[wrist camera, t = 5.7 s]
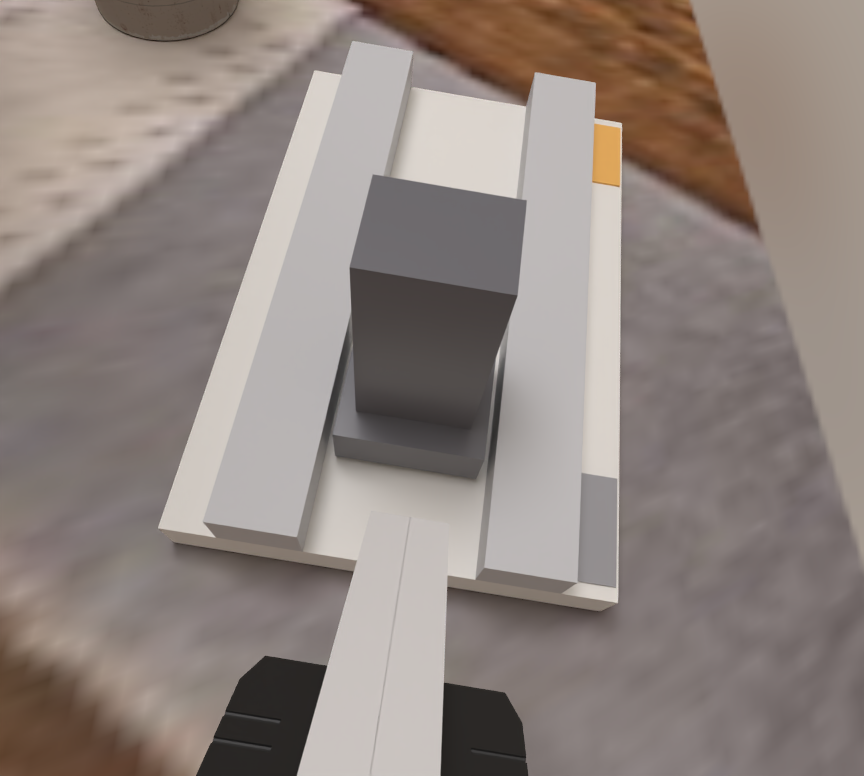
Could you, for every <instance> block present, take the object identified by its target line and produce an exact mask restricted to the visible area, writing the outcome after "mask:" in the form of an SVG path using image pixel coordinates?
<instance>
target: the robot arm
mask: <svg viewBox="0 0 864 776" xmlns="http://www.w3.org/2000/svg"><path fill="white" fill-rule="evenodd" d="M448 548H449V523H443V522H437V521H431V520H425V519H419V518H413V517H407V516H401V515H395V514H389V513H383V512H377V511H371V513H370V516H369V520H368V523H367V527H366V530H365V534H364V538H363V541H362V545H361V548H360V552H359V555H358V559H357V563H356V566H355V570H354V573H353V577H352V580H351V584H350V588H349V591H348V595H347V598H346V602H345V605H344V609H343V612H342V616H341V620H340V623H339V627H338V630H337V634H336V637H335V641H334V645H333V648H332V652H331V655H330V659H329V662H328V666H325V665H318V664H312V663H306V662H300V661H294V660H288V659H282V658H276V657H270V656H265V657H264V658H262V659H261V660H260V661H259V662H258V663H257V664H256V665H255V666H254V667H253V668H251V669H250V670H249V671H248V672H247V673H246V674H245V675H244V676H243V677H242V678H240V680H239V682H238V684H237V686H236V688H235V691H234V693H233V695H232V697H231V700H230V702H229V704H228V706H227V708H226V712H225V715H224V716H223V717H222V719H221V722H220V724H219V726H218V728H217V731H216V733H215V735H214V739H213V742H212V743H211V744H210V746H209V748H208V750H207V753H206V755H205V757H204V759H203V762H202V764H201V766H200V768H199V770H198V773H197V775H196V776H528V770H527V763H526V752H525V743H524V735H523V726H522V722H521V720H520V718H519V717H518V715H517V713H516V711H515V710H514V708H513V706H512V704H511V703H510V701H509V699H508V697H507V695H506V694H505V693H503V692H497V691H491V690H485V689H479V688H473V687H467V686H461V685H455V684H449V683H444V660H445V632H446V604H447V576H448Z"/></svg>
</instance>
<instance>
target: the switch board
mask: <svg viewBox="0 0 864 776" xmlns="http://www.w3.org/2000/svg"><path fill="white" fill-rule="evenodd" d="M412 65H413V51H408V50H402V49H397V48H391V47H385V46H379V45H373V44H368V43H362V42H356V41H352V43H351V47H350V50H349V53H348V56H347V60H346V63H345V66H344V69H343V72H342V75H338V74H333V73H327V72H321V71H314V74H313V77H312V79H311V82H310V85H309V88H308V91H307V94H306V97H305V100H304V103H303V106H302V109H301V112H300V115H299V117H298V120H297V123H296V126H295V129H294V132H293V135H292V138H291V141H290V144H289V147H288V150H287V153H286V155H285V158H284V161H283V164H282V167H281V170H280V173H279V176H278V179H277V182H276V185H275V188H274V191H273V193H272V196H271V199H270V202H269V205H268V208H267V211H266V214H265V217H264V220H263V223H262V226H261V229H260V231H259V234H258V237H257V240H256V243H255V246H254V249H253V252H252V255H251V258H250V261H249V264H248V267H247V269H246V272H245V275H244V278H243V281H242V284H241V287H240V290H239V293H238V296H237V299H236V302H235V305H234V307H233V310H232V313H231V316H230V319H229V322H228V325H227V328H226V331H225V334H224V337H223V340H222V343H221V345H220V348H219V351H218V354H217V357H216V360H215V363H214V366H213V369H212V372H211V375H210V378H209V381H208V383H207V386H206V389H205V392H204V395H203V398H202V401H201V404H200V407H199V410H198V413H197V416H196V419H195V421H194V424H193V427H192V430H191V433H190V436H189V439H188V442H187V445H186V448H185V451H184V454H183V457H182V459H181V462H180V465H179V468H178V471H177V474H176V477H175V480H174V483H173V486H172V489H171V492H170V495H169V497H168V500H167V503H166V506H165V509H164V512H163V515H162V518H161V521H160V524H159V527H158V529H159V530H161V531H162V532H163V533H164V534H165V535H166V536H167V537H168V538H169V539H171V540H172V541H173V542H175V543H181V544H187V545H193V546H200V547H206V548H212V549H218V550H224V551H230V552H237V553H243V554H249V555H255V556H261V557H267V558H273V559H280V560H286V561H292V562H298V563H304V564H310V565H317V566H323V567H329V568H335V569H341V570H347V571H354V570H355V566H356V563H357V559H358V555H359V552H360V548H361V545H362V541H363V538H364V534H365V530H366V527H367V523H368V520H369V516H370V513H371V511H377V512H383V513H389V514H395V515H401V516H407V517H413V518H419V519H425V520H431V521H437V522H443V523H449V548H448V576H447V587H452V588H458V589H464V590H471V591H477V592H483V593H489V594H495V595H501V596H508V597H514V598H520V599H526V600H532V601H538V602H545V603H551V604H557V605H563V606H569V607H575V608H581V609H588V610H594V611H602V610H604V609H606V608H608V607H610V606H613V605H615V604H617V603H618V549H619V424H620V299H621V174H622V123H618V122H612V121H606V120H601V119H595V118H594V117H595V89H596V83H594V82H588V81H582V80H576V79H571V78H565V77H559V76H553V75H547V74H542V73H536V72H535V75H534V79H533V82H532V86H531V90H530V94H529V98H528V102H527V106H526V107H525V106H519V105H513V104H507V103H502V102H496V101H490V100H484V99H478V98H472V97H467V96H461V95H455V94H449V93H443V92H437V91H432V90H426V89H420V88H414V87H411V80H412ZM373 174H374V175H380V176H386V177H392V178H398V179H404V180H410V181H415V182H421V183H427V184H433V185H439V186H445V187H451V188H457V189H463V190H468V191H474V192H480V193H486V194H492V195H498V196H504V197H510V198H516V199H521V200H527V206H526V216H525V226H524V236H523V247H522V257H521V267H520V277H519V287H518V296H517V299H516V302H515V305H514V308H513V310H512V313H511V316H510V319H509V322H508V325H507V327H506V330H505V333H504V336H503V339H502V342H501V345H500V347H499V350H498V353H497V356H496V362H495V371H494V380H493V389H492V398H491V407H490V416H489V425H488V434H487V444H486V453H485V460H484V462H483V465H482V467H481V469H480V471H479V474H478V476H477V478H476V479H472V478H466V477H460V476H454V475H448V474H441V473H435V472H429V471H423V470H417V469H411V468H405V467H399V466H393V465H387V464H381V463H375V462H369V461H362V460H356V459H350V458H344V457H338V456H335V452H334V444H333V436H332V434H333V429H334V425H335V421H336V416H337V412H338V408H339V403H340V399H341V395H342V390H343V386H344V382H345V378H346V373H347V369H348V365H349V360H350V356H351V352H352V347H353V338H352V315H351V292H350V269H349V267H350V263H351V259H352V255H353V251H354V247H355V243H356V239H357V235H358V231H359V227H360V223H361V219H362V215H363V211H364V207H365V203H366V199H367V195H368V191H369V187H370V183H371V179H372V175H373Z"/></svg>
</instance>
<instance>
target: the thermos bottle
mask: <svg viewBox="0 0 864 776" xmlns="http://www.w3.org/2000/svg"><path fill="white" fill-rule="evenodd" d="M95 2H96V5H97V7H98V10H99V11H100V13H101V14H102V16H103V17H104V19H105V20H106V21H108V22H109V23H110V24H111V25H112V26H113V27H115V28H117V29H118V30H120V31H122V32H124V33H127V34H129V35H132V36H135V37H139V38H144V39H149V40H161V41H166V40H180V39H186V38H192V37H195V36H198V35H202V34H205V33H207V32H209V31H211V30H213V29H215V28H217V27H218V26H220V25H221V24H223V23H224V22H225V21H226V20H227V19H228V18H229V17H230V16H231V15H232V14H233V12H234V10H235V8H236V7H237V2H238V0H95Z"/></svg>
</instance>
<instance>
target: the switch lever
mask: <svg viewBox="0 0 864 776" xmlns="http://www.w3.org/2000/svg"><path fill="white" fill-rule="evenodd" d="M526 206H527V200H521V199H516V198H510V197H504V196H498V195H492V194H486V193H480V192H474V191H468V190H463V189H457V188H451V187H445V186H439V185H433V184H427V183H421V182H415V181H410V180H404V179H398V178H392V177H386V176H380V175H374V174H373V175H372V179H371V183H370V187H369V191H368V195H367V199H366V203H365V207H364V211H363V215H362V219H361V223H360V227H359V231H358V235H357V239H356V243H355V247H354V251H353V255H352V259H351V263H350V267H349V269H350V292H351V315H352V338H353V347H352V352H351V356H350V360H349V365H348V369H347V373H346V378H345V382H344V386H343V390H342V395H341V399H340V403H339V408H338V412H337V416H336V421H335V425H334V429H333V434H332V436H333V444H334V452H335V456H338V457H344V458H350V459H356V460H362V461H369V462H375V463H381V464H387V465H393V466H399V467H405V468H411V469H417V470H423V471H429V472H435V473H441V474H448V475H454V476H460V477H466V478H472V479H476V478H477V476H478V474H479V471H480V469H481V467H482V465H483V462H484V460H485V453H486V444H487V434H488V425H489V416H490V407H491V398H492V389H493V380H494V371H495V362H496V356H497V353H498V350H499V347H500V345H501V342H502V339H503V336H504V333H505V330H506V327H507V325H508V322H509V319H510V316H511V313H512V310H513V308H514V305H515V302H516V299H517V296H518V287H519V277H520V267H521V257H522V247H523V236H524V226H525V216H526Z"/></svg>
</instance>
